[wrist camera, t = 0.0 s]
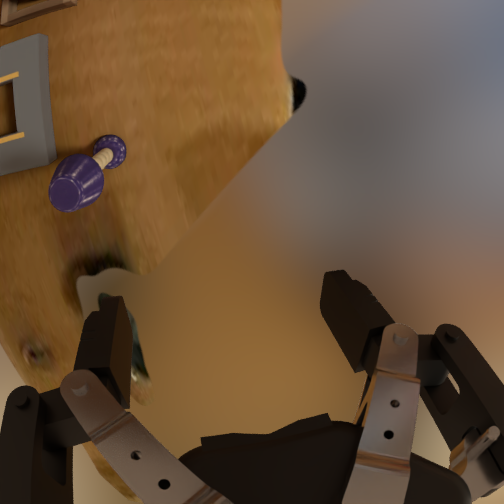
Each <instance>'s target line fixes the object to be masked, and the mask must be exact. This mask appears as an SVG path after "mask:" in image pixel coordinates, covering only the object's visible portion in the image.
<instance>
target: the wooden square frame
mask: <svg viewBox="0 0 504 504" xmlns="http://www.w3.org/2000/svg"><path fill="white" fill-rule="evenodd" d="M76 5H77V0H48V1H44V2H41V3H38V4H35V5H32V6H30V7H27V8H24V9H21V10H19V11H17V0H2V11H1V25H4V26H9V27H10V26H12V25H15V24H18V23H20V22H23V21H26V20H29V19H32V18H35V17H38V16H41V15H44V14H47V13H50V12H54V11H57V10H61V9H64V8H68V7H72V6H76Z"/></svg>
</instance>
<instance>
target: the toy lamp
mask: <svg viewBox="0 0 504 504" xmlns="http://www.w3.org/2000/svg"><path fill="white" fill-rule="evenodd" d="M125 157H126V145H125V143H124V141H123V140H122V139H121V138H119V137H118V136H115V135H106V136H103V137H101V138H100V139H99V140H98V141H97V142H96V144H95V146H94V150H93V157H90V156H87V155H84V154H74V155H70V156H68V157H66V158H65V159H64V160H63V161H61V163H60V164H59V165H58V166H57V168H56V170H55V172H54V175H53V177H52V180H51V182H50V185H49V199H50V201H51V203H52V205H53V206H54V207H55V208H56V209H58V210H59V211H62V212H72V211H76V210H78V209H81V208H83V207H86V206H88V205H90V204H92V203H93V202H94V201H96V200H97V198H98V197H99V196H100V194H101V192H102V189H103V185H104V176H103V172H102V169H103V168H105V169H113V168H116V167H118V166H119V165H120V164H121V163H122V162H123V161H124V159H125Z"/></svg>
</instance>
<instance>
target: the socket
mask: <svg viewBox="0 0 504 504" xmlns="http://www.w3.org/2000/svg"><path fill="white" fill-rule="evenodd" d="M11 82H13V93H14V105H15V116H16V124H17V131H16V132H13V133H9V134H6V135H3V136H0V176H2V175H6V174H9V173H14V172H18V171H22V170H26V169H31V168H35V167H40V166H44V165H49V164H50V163H52V162H53V161H54V160H56V159H57V154H56V147H55V140H54V132H53V123H52V114H51V103H50V90H49V72H48V36H47V35H43V34H39V33H38V34H35V35H32V36H29V37H26V38H23V39H20V40H17V41H15V42H12V43H9V44H7V45H4V46H2V47H0V86H3V85H5V84H8V83H11Z"/></svg>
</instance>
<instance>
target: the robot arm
mask: <svg viewBox="0 0 504 504" xmlns="http://www.w3.org/2000/svg"><path fill="white" fill-rule="evenodd" d="M320 309H321V314H322V316H323V318H324V320H325V321H326V323H327V325H328V327H329V328H330V330H331V332H332V334H333V335H334V337H335V339H336V341H337V342H338V344H339V346H340V348H341V349H342V351H343V353H344V354H345V356H346V358H347V360H348V362H349V363H350V365H351V367H352V369H353V370H354V372H355V373H357V372H360V371H363V370H365V371H366V373H367V376H366V379H365V383H364V387H363V391H362V394H361V398H360V401H359V405H358V408H357V412H356V415H355V418H354V420H353V423H349V422H343V421H331V420H330V418H329V415H328V413H325V414H321V415H317V416H314V417H310V418H306V419H301V420H298V421H296V422H294V423H292V424H290V425H288V426H285V427H283V428H281V429H279V430H277V431H275V432H273V433H270V434H241V433H230V434H223V435H216V436H208V437H201V444H202V446H199V447H197V448H194V449H192V450H190V451H188V452H187V453H185V454H184V455H182V456H181V457H180V458H179V459H177V458H176V457H174V456H173V455H172V454H171V453H170V452H169V451H168V450H167V449H166V448H165V447H164V446H163V445H162V444H161V443H160V442H159V441H158V440H157V439H156V438H155V437H154V436H153V435H152V434H151V433H149V431H148V430H147V429H146V428H145V427H144V426H143V425H142V424H141V423H140V422H139V421H138V420H137V419H136V418H135V417H134V415H132V414H131V413H130V412H126V411H125V410H124V409H129V408H130V382H131V363H132V348H133V333H132V327H131V323H130V320H129V317H128V313H127V310H126V306H125V303H124V300H123V297H122V296H113V297H103V299H102V302H101V306H100V311H93V312H92V313H91V314H90V315H89V316H88V317H87V319H86V320H85V322H84V326H83V330H82V332H83V333H82V334H81V338H80V340H81V341H80V343H79V347H78V351H77V356H76V360H75V365H74V370H73V372H71V373H69V374H68V375H67V376H65V378H64V379H63V380H62V382H61V385H60V387H59V388H56V389H53V390H50V391H47V392H43V393H40V394H39V393H38V392H37V390H36V389H35V388H33V387H31V386H20V387H18V388H16V389H14V390H13V391H12V392H11V393H10V395H9V396H8V398H7V401H6V406H5V411H4V415H3V421H2V426H1V432H0V504H73V471H72V470H73V446H75V445H78V444H81V443H85V442H88V441H92V442H93V443H94V445H95V446H96V447H97V449H98V450H99V451H100V453H101V454H102V455H103V456H104V458H105V459H106V460H107V462H108V463H109V464H110V465H111V466H112V468H113V469H114V470H115V471H116V472H117V474H118V475H119V476H120V477H121V478H122V479H123V481H124V482H125V483H126V484H127V485H128V486H129V487H130V489H131V490H132V491H133V492H134V493H135V494H136V495H137V496H138V497H139V498H140V499H141V500H142V501H143V503H144V504H472V502H473V501H475V500H476V499H477V498H479V497H486V496H488V495H490V494H491V493H493V492H494V491H496V490H497V489H499V488H500V487H502V486H503V485H504V385H503V383H502V382H501V381H500V379H499V378H498V377H497V375H496V374H495V372H494V371H493V370H492V368H491V367H490V366H489V364H488V363H487V361H486V360H485V359H484V358H483V356H482V355H481V354H480V352H479V351H478V350H477V348H476V347H475V346H474V345H473V343H472V342H471V341H470V339H469V338H468V337H467V336H466V335H465V333H464V332H463V331H462V330H461V329H460V328H458V327H457V326H454V325H451V324H442V325H440V326H439V327H438V328H437V329H436V331H435V334H434V335H418V334H417V333H416V332H415V331H414V330H413V329H412V328H411V327H409V326H407V325H404V324H400V323H395V322H394V320H393V319H392V318H391V316H390V315H389V314H388V313H387V311H386V310H385V309H384V308H383V306H382V305H381V304H380V303H379V302H378V300H377V299H376V298H375V296H373V294H372V293H371V291H370V290H369V289H368V288H367V286H365V285H364V284H362V283H361V282H359V281H357V280H352V279H351V277H350V276H349V275H348V274H347V272H346V271H345V270H336V271H329V272H326V273H325V274H324V279H323V286H322V292H321V298H320ZM449 373H450V374H451V375H452V376H453V378H454V380H455V381H456V383H457V384H458V386H459V390H460V394H458V392H457V390H456V389H455V387H454V386H453V384H452V383H451V381H450V380H449V378H448V377H447V376H448V374H449ZM419 394H420V396H421V398H422V400H423V401H424V403H425V405H426V407H427V408H428V410H429V412H430V414H431V416H432V417H433V419H434V421H435V423H436V425H437V427H438V428H439V430H440V432H441V434H442V436H443V437H444V439H445V441H446V443H447V445H448V447H449V449H450V451H451V454H450V460H449V461H450V465H449V469H447V468H445V467H443V466H440V465H438V464H436V463H434V462H431V461H429V460H427V459H425V458H422V457H421V456H419V455H416V454H414V453H412V452H411V449H412V443H413V436H414V431H415V424H416V417H417V409H418V401H419Z"/></svg>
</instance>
